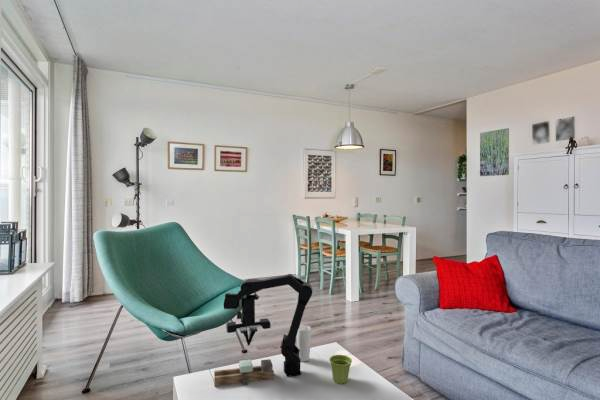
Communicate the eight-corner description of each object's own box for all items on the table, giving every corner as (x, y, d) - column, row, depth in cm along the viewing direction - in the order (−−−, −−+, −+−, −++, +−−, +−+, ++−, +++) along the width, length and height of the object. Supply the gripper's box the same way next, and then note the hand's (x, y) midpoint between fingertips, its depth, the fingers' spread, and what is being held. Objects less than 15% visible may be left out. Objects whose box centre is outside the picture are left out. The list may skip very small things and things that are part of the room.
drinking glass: (309, 363, 163) (309, 331, 163) (295, 362, 164) (295, 329, 164) (311, 357, 170) (312, 325, 170) (298, 355, 171) (298, 324, 171)
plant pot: (354, 377, 150) (354, 357, 150) (347, 388, 142) (348, 366, 142) (333, 373, 154) (333, 353, 154) (326, 383, 146) (326, 361, 146)
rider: (251, 369, 152) (251, 359, 152) (252, 376, 146) (252, 365, 146) (239, 371, 150) (239, 360, 150) (240, 377, 145) (240, 366, 145)
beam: (270, 371, 156) (270, 357, 156) (274, 381, 147) (274, 366, 147) (214, 377, 150) (214, 363, 150) (214, 388, 141) (214, 373, 141)
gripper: (265, 302, 165) (266, 335, 165) (225, 305, 160) (225, 340, 160) (270, 309, 155) (270, 345, 155) (227, 313, 149) (227, 350, 149)
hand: (248, 344), depth 155 cm, fingers closed
